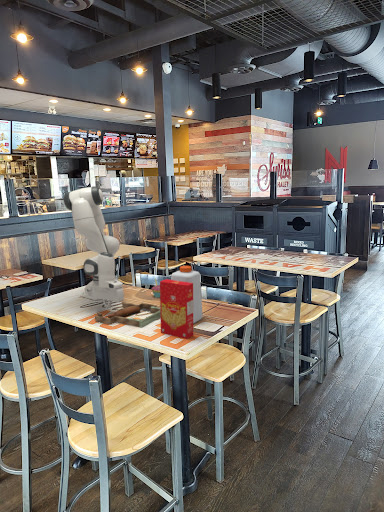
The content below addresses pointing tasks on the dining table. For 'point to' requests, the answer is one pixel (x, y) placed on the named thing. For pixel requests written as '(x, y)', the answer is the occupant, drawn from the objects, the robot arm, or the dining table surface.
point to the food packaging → (176, 308)
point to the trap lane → (129, 320)
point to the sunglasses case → (125, 311)
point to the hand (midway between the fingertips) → (107, 307)
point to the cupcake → (156, 290)
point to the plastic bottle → (193, 277)
